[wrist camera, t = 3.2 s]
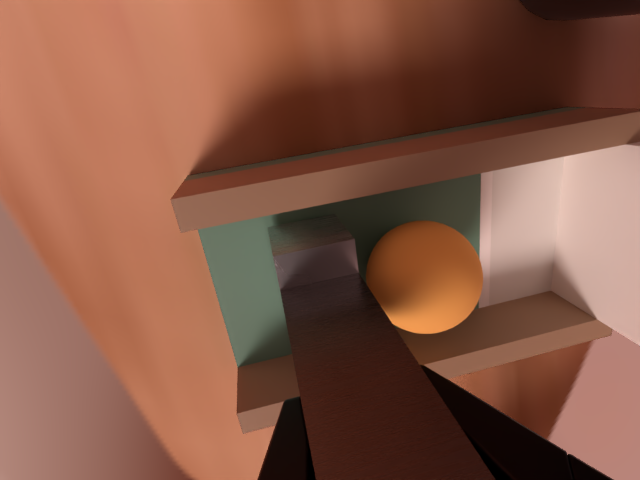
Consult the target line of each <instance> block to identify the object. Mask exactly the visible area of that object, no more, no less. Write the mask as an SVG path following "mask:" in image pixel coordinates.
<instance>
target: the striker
mask: <svg viewBox="0 0 640 480" xmlns="http://www.w3.org/2000/svg"><path fill="white" fill-rule="evenodd" d="M268 233H269V238H270V244H271V249H272V255H273V260H274V264H275V269H276V273H277V278H278V283H279V287H280V292H281V298H282V303H283V308H284V313H285V319H286V324H287V329H288V335H289V340H290V345H291V350H292V356H293V361H294V366H295V371H296V377H297V382H298V387H299V393H300V398H301V403H302V408H303V414H304V419H305V424H306V429H307V435H308V440H309V445H310V451H311V456H312V461H313V466H314V472H315V477H316V480H495V478H494V477H493V475H492V474H491V472H490V471H489V469H488V468H487V466H486V465H485V463H484V462H483V460H482V459H481V457H480V456H479V454H478V453H477V451H476V450H475V448H474V447H473V445H472V444H471V442H470V441H469V439H468V437H467V436H466V434H465V433H464V431H463V430H462V428H461V427H460V425H459V424H458V422H457V421H456V419H455V418H454V416H453V415H452V413H451V412H450V410H449V409H448V407H447V406H446V404H445V403H444V401H443V400H442V398H441V397H440V395H439V394H438V392H437V391H436V389H435V387H434V386H433V384H432V383H431V381H430V380H429V378H428V377H427V375H426V374H425V372H424V371H423V369H422V368H421V366H420V365H419V363H418V362H417V360H416V359H415V357H414V356H413V354H412V353H411V351H410V350H409V348H408V347H407V345H406V344H405V342H404V340H403V339H402V337H401V336H400V334H399V333H398V331H397V330H396V328H395V327H394V325H393V324H392V322H391V321H390V319H389V318H388V316H387V315H386V313H385V312H384V310H383V309H382V307H381V306H380V304H379V303H378V301H377V300H376V298H375V297H374V295H373V294H372V292H371V290H370V289H369V287H368V286H367V284H366V283H365V281H364V280H363V278H362V277H361V275H360V274H359V271H358V262H357V254H356V246H355V239H354V238H353V236H352V235H351V234H350V232H349V231H348V230H347V229H346V227H345V226H344V225H343V224H342V222H341V221H340V220H339V219H338V217H337V216H336V215H335V214H331V215H326V216H321V217H316V218H311V219H306V220H301V221H296V222H291V223H286V224H281V225H276V226H271V227H268Z"/></svg>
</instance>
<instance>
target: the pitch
mask: <svg viewBox="0 0 640 480" xmlns="http://www.w3.org/2000/svg"><path fill="white" fill-rule="evenodd" d="M171 203H172V206H173V209H174V212H175V216H176V219H177V222H178V225H179V229H180V232H181V233H183V232H188V231H193V230H198V232H199V235H200V239H201V242H202V246H203V249H204V253H205V256H206V259H207V263H208V266H209V270H210V273H211V277H212V280H213V284H214V287H215V290H216V294H217V297H218V301H219V304H220V308H221V311H222V315H223V318H224V322H225V325H226V328H227V332H228V335H229V339H230V342H231V346H232V349H233V353H234V356H235V359H236V363H237V366H238V382H237V416H238V419H239V422H240V426H241V429H242V432H243V434H244V433H248V432H252V431H256V430H259V429H263V428H267V427H271V426H274V425H276V423H277V420H278V417H279V414H280V411H281V408H282V405H283V402H284V401H285V400H286V399H290V398H294V397H298V396H300V393H299V387H298V382H297V377H296V371H295V366H294V361H293V356H292V350H291V345H290V340H289V335H288V329H287V324H286V319H285V313H284V308H283V303H282V298H281V292H280V287H279V283H278V278H277V273H276V269H275V264H274V260H273V255H272V249H271V244H270V238H269V233H268V227H271V226H276V225H281V224H286V223H291V222H296V221H301V220H306V219H311V218H316V217H321V216H326V215H331V214H335V215H336V216H337V217H338V219H339V220H340V221H341V222H342V224H343V225H344V226H345V227H346V229H347V230H348V231H349V232H350V234H351V235H352V236H353V238H354V239H355V246H356V254H357V262H358V271H359V274H360V275H361V277H362V278H363V280H364V281H365V283H366V284H367V282H366V270H367V263H368V260H369V257H370V254H371V252H372V250H373V248H374V247H375V245H376V244H377V242H378V241H379V240H380V239H381V238H382V237H383V236H384V235H385V234H386V233H387V232H389V231H390V230H392V229H394V228H395V227H397V226H399V225H402V224H404V223H408V222H412V221H434V222H438V223H442V224H445V225H447V226H449V227H451V228H453V229H455V230H456V231H458V232H459V233H461V234H462V235H463V236H464V237H465V238H466V239H467V240H468V241H469V242H470V243H471V245H472V246H473V247H474V249H475V251H476V253H477V255H478V256H479V259H480V262H481V266H482V271H483V287H482V292H481V295H480V298H479V300H478V303H477V305H476V306H475V308H474V310H473V311H472V312H471V314H470V315H469V316H468V317H467V318H466V319H465V320H463V321H462V322H461V323H460V324H458V325H457V326H455V327H453V328H451V329H448V330H446V331H442V332H439V333H433V334H419V333H413V332H410V331H406V330H403V329H401V328H399V327H397V326H395V325H394V324H393V325H394V327H395V328H396V330H397V331H398V333H399V334H400V336H401V337H402V339H403V340H404V342H405V344H406V345H407V347H408V348H409V350H410V351H411V353H412V354H413V356H414V357H415V359H416V360H417V362H418V363H419V365H420V364H422V365H425V366H427V367H428V368H430V369H431V370H433V371H435V372H436V373H438V374H440V375H441V376H443V377H445V378H446V379H450V378H454V377H457V376H461V375H465V374H468V373H472V372H476V371H480V370H483V369H487V368H491V367H495V366H498V365H502V364H506V363H510V362H513V361H517V360H521V359H524V358H528V357H532V356H536V355H539V354H543V353H547V352H551V351H554V350H558V349H562V348H566V347H569V346H573V345H577V344H581V343H584V342H588V341H592V340H595V339H599V338H602V337H607V336H610V335H611V334H612V329H613V330H615V331H616V332H618V333H620V334H621V335H623V336H625V337H626V338H628V339H629V340H631V341H633V342H634V343H636V344H637V345H639V346H640V109H622V108H585V107H564V108H558V109H553V110H547V111H542V112H536V113H531V114H525V115H520V116H514V117H509V118H503V119H498V120H492V121H487V122H481V123H476V124H470V125H464V126H459V127H453V128H448V129H442V130H437V131H431V132H426V133H420V134H415V135H409V136H404V137H398V138H393V139H387V140H382V141H376V142H371V143H365V144H359V145H354V146H348V147H343V148H337V149H332V150H326V151H321V152H315V153H310V154H304V155H299V156H293V157H288V158H282V159H277V160H271V161H266V162H260V163H254V164H249V165H243V166H238V167H232V168H227V169H221V170H216V171H210V172H205V173H199V174H194V175H188V176H187V177H186V179H185V180H184V182H183V183H182V184H181V186H180V187H179V188H178V190H177V191H176V193H175V194H174V195H173V197H172V198H171Z"/></svg>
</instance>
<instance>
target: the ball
mask: <svg viewBox="0 0 640 480" xmlns="http://www.w3.org/2000/svg"><path fill="white" fill-rule="evenodd" d="M366 282H367V286H368V287H369V289H370V290H371V292H372V294H373V295H374V297H375V298H376V300H377V301H378V303H379V304H380V306H381V307H382V309H383V310H384V312H385V313H386V315H387V316H388V318H389V319H390V321H391V322H392V324H394V325H395V326H397V327H399V328H401V329H403V330H406V331H410V332H413V333H419V334H433V333H439V332H442V331H446V330H448V329H451V328H453V327H455V326H457V325H458V324H460V323H461V322H462V321H463V320H465V319H466V318H467V317H468V316H469V315H470V314H471V312H472V311H473V310H474V308H475V306H476V305H477V303H478V300H479V298H480V295H481V292H482V287H483V271H482V266H481V262H480V259H479V256H478V255H477V253H476V251H475V249H474V247H473V246H472V245H471V243H470V242H469V241H468V240H467V239H466V238H465V237H464V236H463V235H462V234H461V233H459V232H458V231H456V230H455V229H453V228H451V227H449V226H447V225H445V224H442V223H438V222H434V221H412V222H408V223H404V224H402V225H399V226H397V227H395V228H394V229H392V230H390V231H389V232H387V233H386V234H385V235H384V236H383V237H382V238H381V239H380V240H379V241H378V242H377V244H376V245H375V247H374V248H373V250H372V252H371V254H370V257H369V260H368V263H367V270H366Z"/></svg>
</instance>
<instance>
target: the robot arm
mask: <svg viewBox="0 0 640 480" xmlns="http://www.w3.org/2000/svg"><path fill="white" fill-rule="evenodd" d="M420 366H421V368H422V369H423V371H424V372H425V374H426V375H427V377H428V378H429V380H430V381H431V383H432V384H433V386H434V387H435V389H436V391H437V392H438V394H439V395H440V397H441V398H442V400H443V401H444V403H445V404H446V406H447V407H448V409H449V410H450V412H451V413H452V415H453V416H454V418H455V419H456V421H457V422H458V424H459V425H460V427H461V428H462V430H463V431H464V433H465V434H466V436H467V437H468V439H469V441H470V442H471V444H472V445H473V447H474V448H475V450H476V451H477V453H478V454H479V456H480V457H481V459H482V460H483V462H484V463H485V465H486V466H487V468H488V469H489V471H490V472H491V474H492V475H493V477H494V478H495V480H613V479H612V478H610V477H608V476H606V475H605V474H603V473H601V472H600V471H598V470H596V469H595V468H593V467H591V466H589V465H587V464H586V463H584V462H583V461H581V460H580V459H578V458H576V457H575V456H573V455H571V454H568V455H567V453H566V451H564V450H563V449H561V448H560V447H558V446H556V445H555V444H553V443H551V442H550V441H548V440H546V439H545V438H543V437H542V436H540V435H538V434H537V433H535V432H533V431H532V430H530V429H528V428H527V427H525V426H523V425H522V424H520V423H519V422H517V421H515V420H514V419H512V418H510V417H509V416H507V415H505V414H504V413H502V412H500V411H499V410H497V409H496V408H494V407H492V406H491V405H489V404H487V403H486V402H484V401H482V400H481V399H479V398H477V397H476V396H474V395H473V394H471V393H469V392H468V391H466V390H464V389H463V388H461V387H459V386H458V385H456V384H454V383H453V382H451V381H450V380H448V379H446V378H445V377H443V376H441V375H440V374H438V373H436V372H435V371H433V370H431V369H430V368H428V367H427V366H425V365H422V364H420ZM258 480H316V477H315V472H314V466H313V461H312V456H311V451H310V445H309V440H308V435H307V429H306V424H305V419H304V414H303V408H302V403H301V398H300V396H298V397H294V398H290V399H286V400H285V401H284V402H283V405H282V408H281V411H280V414H279V417H278V420H277V423H276V426H275V429H274V432H273V435H272V438H271V441H270V444H269V447H268V450H267V453H266V456H265V459H264V462H263V465H262V468H261V471H260V474H259V477H258Z"/></svg>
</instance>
